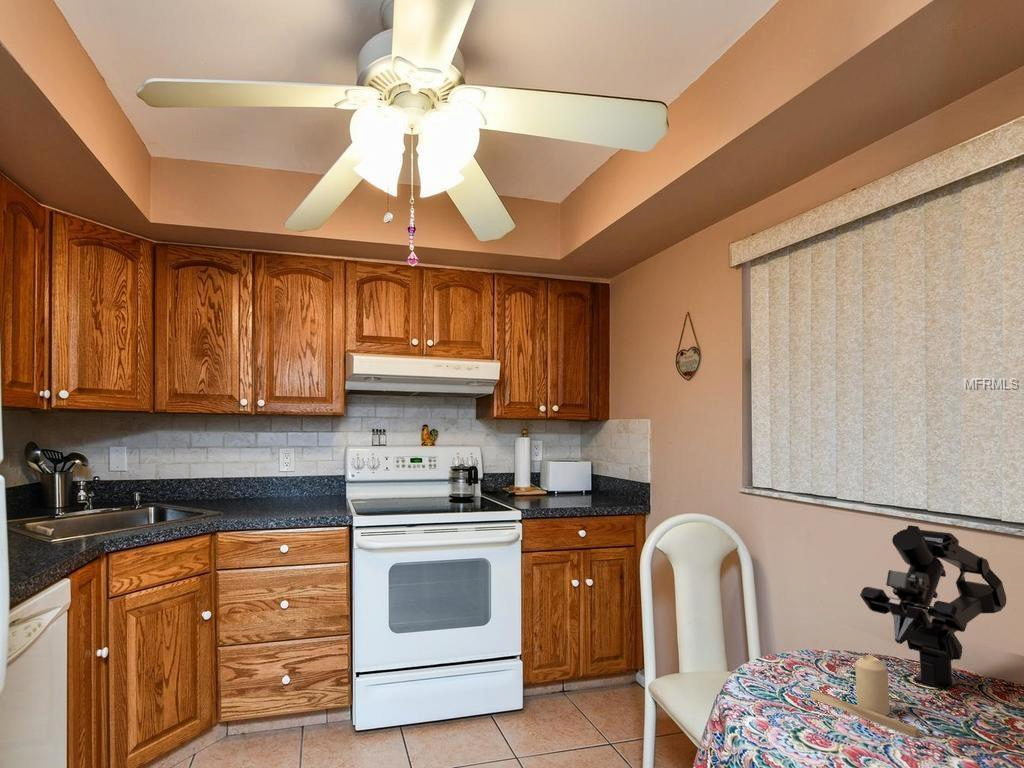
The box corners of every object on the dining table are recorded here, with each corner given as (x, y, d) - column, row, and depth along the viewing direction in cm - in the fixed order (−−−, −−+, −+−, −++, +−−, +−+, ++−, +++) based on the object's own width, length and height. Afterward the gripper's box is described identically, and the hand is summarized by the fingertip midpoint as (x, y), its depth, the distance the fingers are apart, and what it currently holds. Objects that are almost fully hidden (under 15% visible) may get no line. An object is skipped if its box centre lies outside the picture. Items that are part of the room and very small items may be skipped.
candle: (894, 717, 119) (891, 663, 120) (862, 715, 120) (860, 661, 121) (883, 705, 124) (880, 653, 125) (853, 703, 125) (850, 651, 126)
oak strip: (814, 696, 129) (814, 690, 129) (919, 735, 112) (919, 728, 112) (810, 698, 128) (810, 691, 128) (915, 737, 111) (915, 730, 111)
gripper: (862, 549, 140) (836, 607, 134) (956, 563, 125) (932, 630, 118) (883, 580, 144) (859, 638, 137) (977, 598, 128) (955, 665, 121)
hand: (897, 642), depth 128 cm, fingers closed
